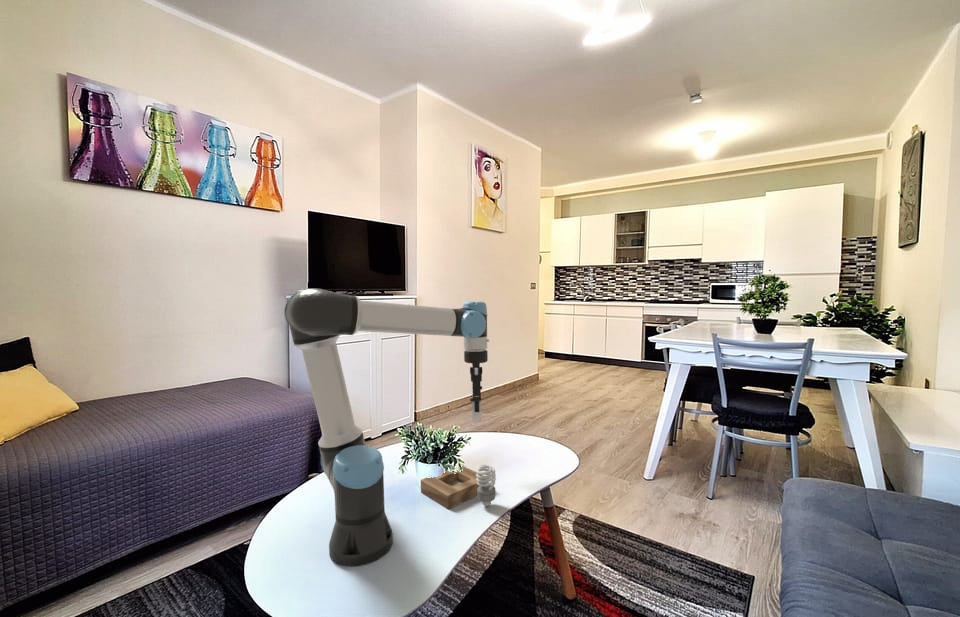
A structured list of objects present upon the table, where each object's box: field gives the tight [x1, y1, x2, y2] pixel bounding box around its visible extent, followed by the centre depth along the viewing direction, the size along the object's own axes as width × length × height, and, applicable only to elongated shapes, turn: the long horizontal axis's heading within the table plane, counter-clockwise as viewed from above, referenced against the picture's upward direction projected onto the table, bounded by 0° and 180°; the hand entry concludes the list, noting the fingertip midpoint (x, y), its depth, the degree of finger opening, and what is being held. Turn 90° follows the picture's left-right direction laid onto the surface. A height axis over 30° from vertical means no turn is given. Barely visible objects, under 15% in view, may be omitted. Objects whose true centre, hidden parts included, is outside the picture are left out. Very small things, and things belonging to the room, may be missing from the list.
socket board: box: [420, 465, 489, 510], centre depth 130 cm, size 16×14×4 cm
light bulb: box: [475, 464, 497, 507], centre depth 120 cm, size 6×6×12 cm
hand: (476, 415), depth 134 cm, fingers open, 13 cm apart
